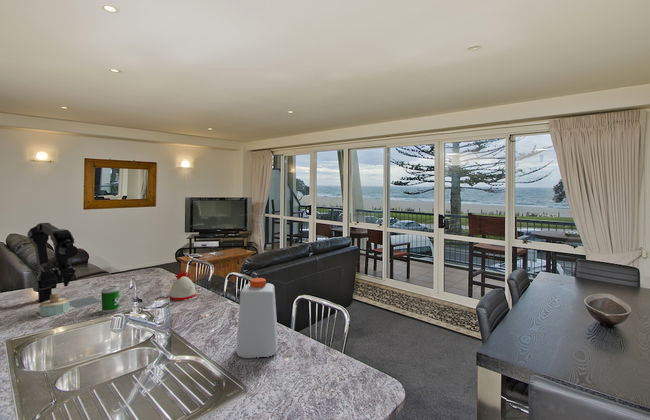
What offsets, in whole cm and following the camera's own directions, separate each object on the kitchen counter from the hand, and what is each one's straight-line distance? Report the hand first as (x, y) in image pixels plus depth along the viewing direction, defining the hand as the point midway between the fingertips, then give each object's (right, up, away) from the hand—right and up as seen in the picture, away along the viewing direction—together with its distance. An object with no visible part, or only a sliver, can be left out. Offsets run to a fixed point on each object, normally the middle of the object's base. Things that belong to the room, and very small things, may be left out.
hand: (62, 284), depth 168 cm
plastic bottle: (+109, -17, -40) cm, 117 cm away
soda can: (+26, -13, -2) cm, 30 cm away
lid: (0, -8, -6) cm, 10 cm away
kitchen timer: (+53, -12, +21) cm, 58 cm away
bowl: (0, -13, -5) cm, 14 cm away
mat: (+5, -12, +8) cm, 15 cm away
